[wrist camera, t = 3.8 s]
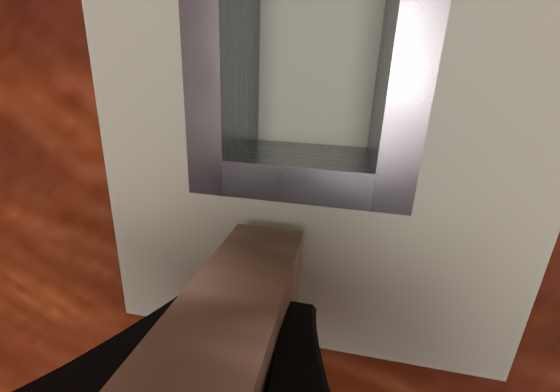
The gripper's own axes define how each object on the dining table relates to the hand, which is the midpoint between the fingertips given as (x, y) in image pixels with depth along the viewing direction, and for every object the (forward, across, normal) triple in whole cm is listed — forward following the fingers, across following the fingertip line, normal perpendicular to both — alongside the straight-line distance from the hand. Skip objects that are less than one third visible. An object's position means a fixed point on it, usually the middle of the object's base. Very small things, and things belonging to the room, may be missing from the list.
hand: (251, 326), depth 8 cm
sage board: (+4, -1, -4) cm, 6 cm away
